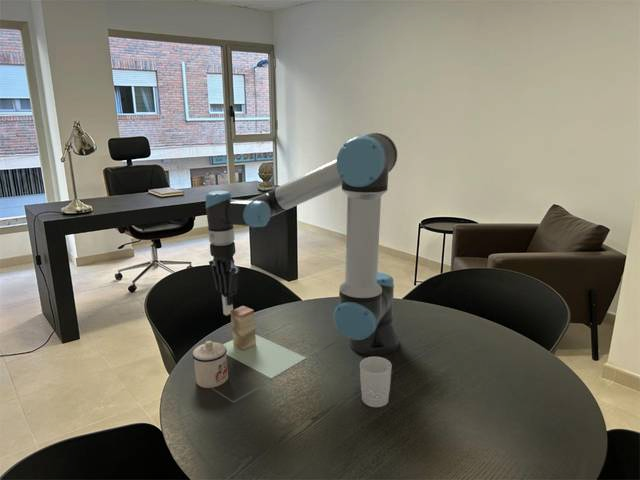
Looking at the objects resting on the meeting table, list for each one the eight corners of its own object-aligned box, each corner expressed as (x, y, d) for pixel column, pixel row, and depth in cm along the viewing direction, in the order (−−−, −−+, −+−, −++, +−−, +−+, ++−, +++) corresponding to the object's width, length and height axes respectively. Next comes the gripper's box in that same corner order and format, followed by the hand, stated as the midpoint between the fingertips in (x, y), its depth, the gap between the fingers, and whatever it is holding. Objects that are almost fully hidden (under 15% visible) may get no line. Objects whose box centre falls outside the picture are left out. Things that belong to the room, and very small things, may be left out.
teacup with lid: (222, 390, 123) (218, 351, 119) (190, 388, 124) (185, 349, 121) (237, 366, 134) (234, 329, 131) (207, 364, 136) (203, 328, 132)
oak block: (256, 344, 145) (253, 309, 142) (243, 351, 141) (240, 315, 138) (245, 340, 148) (243, 305, 145) (233, 346, 145) (230, 310, 141)
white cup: (370, 413, 112) (371, 376, 109) (353, 395, 119) (353, 361, 116) (397, 403, 116) (398, 367, 113) (379, 387, 122) (379, 353, 120)
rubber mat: (306, 358, 137) (306, 357, 137) (271, 379, 127) (271, 378, 127) (249, 332, 154) (249, 331, 154) (214, 349, 144) (214, 348, 144)
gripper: (199, 241, 142) (206, 311, 149) (225, 249, 134) (231, 323, 140) (219, 236, 147) (225, 304, 154) (245, 243, 139) (250, 314, 145)
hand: (228, 313), depth 147 cm, fingers closed
